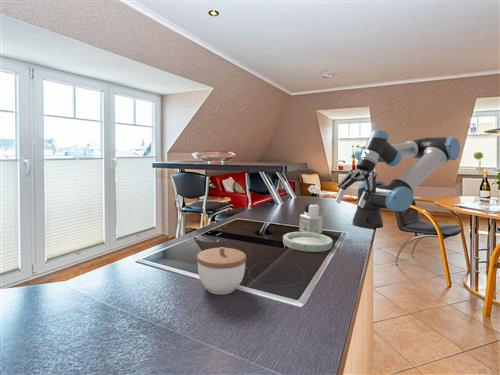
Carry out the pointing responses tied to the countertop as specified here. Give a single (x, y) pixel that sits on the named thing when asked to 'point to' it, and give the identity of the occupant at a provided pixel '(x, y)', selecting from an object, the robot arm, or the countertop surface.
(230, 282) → the lidded bowl
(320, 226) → the container
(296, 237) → the round tray
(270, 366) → the countertop surface
